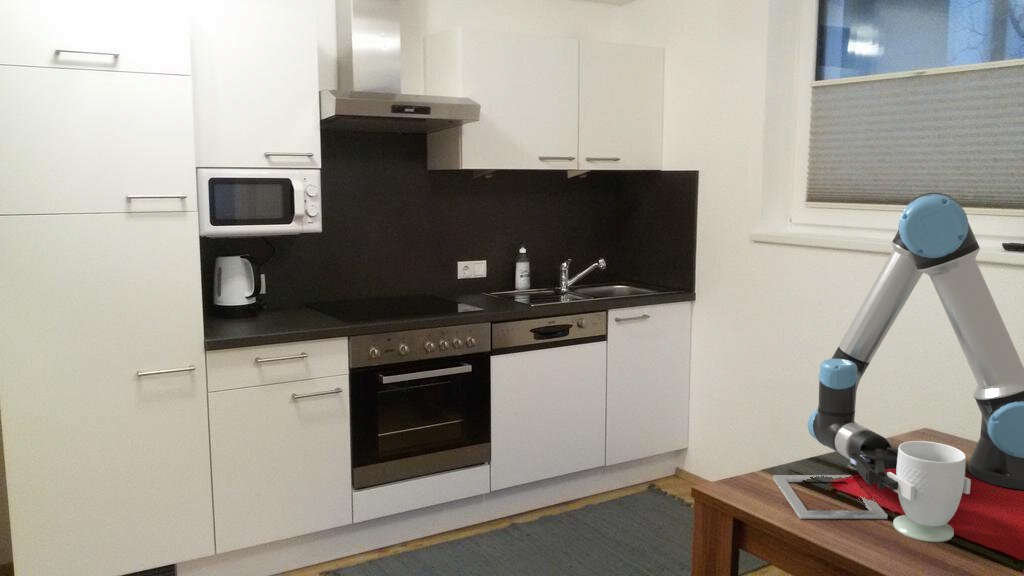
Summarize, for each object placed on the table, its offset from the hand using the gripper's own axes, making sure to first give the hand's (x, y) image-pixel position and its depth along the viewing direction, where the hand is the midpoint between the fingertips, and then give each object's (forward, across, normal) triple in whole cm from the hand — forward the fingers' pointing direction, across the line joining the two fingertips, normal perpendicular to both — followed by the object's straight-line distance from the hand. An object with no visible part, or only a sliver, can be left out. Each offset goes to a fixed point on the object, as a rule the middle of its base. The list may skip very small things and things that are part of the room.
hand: (940, 490), depth 141 cm
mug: (-4, 0, -7) cm, 8 cm away
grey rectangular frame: (-21, +9, -10) cm, 24 cm away
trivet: (-4, 0, -9) cm, 10 cm away
